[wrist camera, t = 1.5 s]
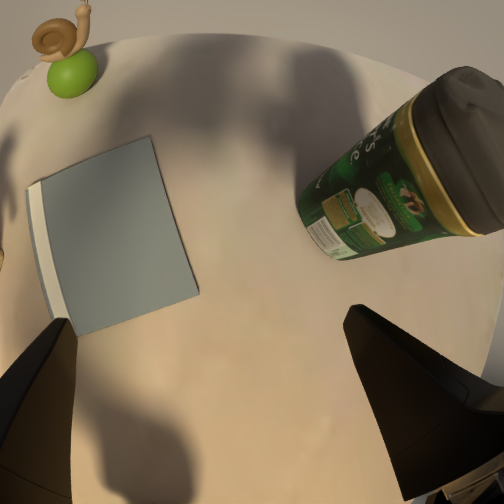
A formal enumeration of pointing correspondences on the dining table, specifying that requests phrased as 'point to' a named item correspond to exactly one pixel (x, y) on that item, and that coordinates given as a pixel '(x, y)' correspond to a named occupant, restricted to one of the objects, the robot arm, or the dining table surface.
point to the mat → (107, 240)
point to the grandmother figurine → (1, 258)
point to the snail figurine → (67, 53)
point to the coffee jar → (416, 173)
